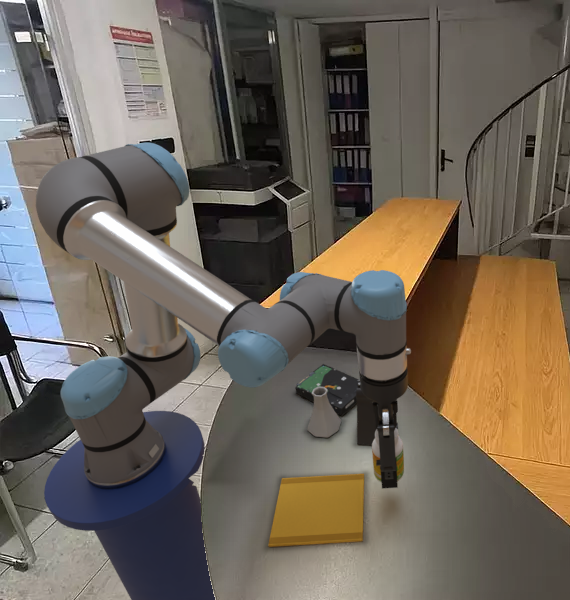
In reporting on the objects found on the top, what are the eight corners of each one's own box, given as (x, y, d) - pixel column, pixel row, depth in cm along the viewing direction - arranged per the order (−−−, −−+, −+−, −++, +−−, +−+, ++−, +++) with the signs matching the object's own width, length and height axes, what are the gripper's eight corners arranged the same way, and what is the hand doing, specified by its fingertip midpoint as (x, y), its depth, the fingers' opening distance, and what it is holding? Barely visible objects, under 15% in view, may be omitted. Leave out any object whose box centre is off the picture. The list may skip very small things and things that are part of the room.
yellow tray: (268, 547, 82) (268, 545, 82) (282, 479, 94) (281, 477, 94) (362, 541, 83) (362, 539, 82) (364, 475, 95) (364, 473, 94)
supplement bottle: (401, 487, 83) (399, 446, 79) (370, 483, 84) (367, 443, 79) (406, 462, 88) (405, 423, 83) (377, 459, 89) (374, 420, 84)
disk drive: (370, 392, 116) (323, 371, 124) (369, 383, 115) (322, 362, 122) (342, 418, 109) (295, 394, 116) (341, 408, 108) (293, 385, 115)
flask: (320, 411, 111) (315, 376, 106) (347, 420, 108) (343, 385, 103) (301, 432, 105) (295, 397, 100) (329, 442, 102) (324, 406, 98)
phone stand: (385, 446, 101) (382, 402, 95) (357, 444, 102) (352, 401, 96) (390, 416, 109) (388, 374, 103) (364, 415, 109) (360, 373, 103)
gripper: (411, 407, 67) (413, 516, 78) (404, 333, 83) (407, 433, 94) (357, 410, 66) (367, 519, 78) (360, 335, 82) (368, 435, 94)
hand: (389, 471), depth 86 cm, fingers closed on supplement bottle, 5 cm apart
